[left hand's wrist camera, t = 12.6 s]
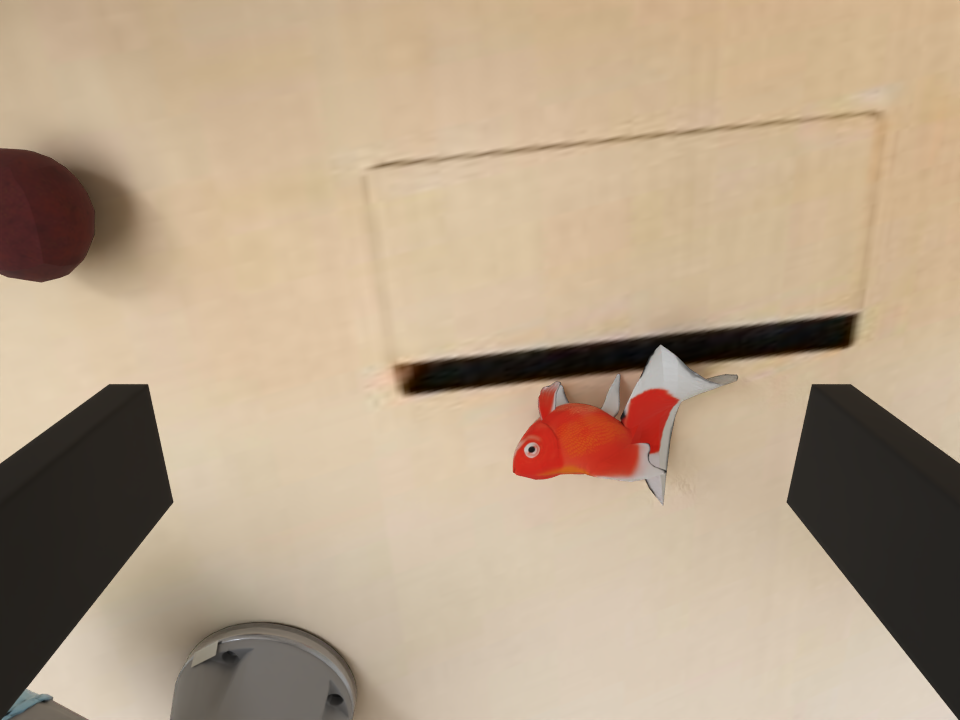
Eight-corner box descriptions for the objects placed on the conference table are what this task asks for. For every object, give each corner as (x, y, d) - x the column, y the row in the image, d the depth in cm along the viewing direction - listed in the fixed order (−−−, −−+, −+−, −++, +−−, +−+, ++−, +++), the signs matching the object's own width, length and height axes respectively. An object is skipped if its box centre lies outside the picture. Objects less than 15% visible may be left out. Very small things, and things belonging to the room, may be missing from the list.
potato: (99, 141, 38) (21, 146, 32) (133, 265, 41) (67, 293, 34) (-18, 149, 38) (-120, 156, 32) (24, 272, 41) (-62, 302, 35)
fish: (496, 325, 38) (583, 442, 31) (695, 287, 44) (803, 378, 37) (477, 444, 45) (545, 560, 38) (651, 397, 51) (735, 490, 44)
